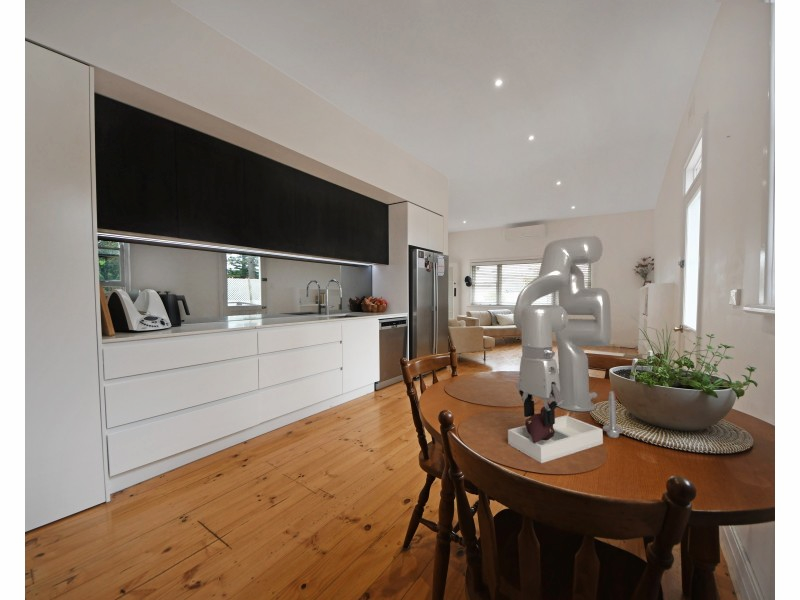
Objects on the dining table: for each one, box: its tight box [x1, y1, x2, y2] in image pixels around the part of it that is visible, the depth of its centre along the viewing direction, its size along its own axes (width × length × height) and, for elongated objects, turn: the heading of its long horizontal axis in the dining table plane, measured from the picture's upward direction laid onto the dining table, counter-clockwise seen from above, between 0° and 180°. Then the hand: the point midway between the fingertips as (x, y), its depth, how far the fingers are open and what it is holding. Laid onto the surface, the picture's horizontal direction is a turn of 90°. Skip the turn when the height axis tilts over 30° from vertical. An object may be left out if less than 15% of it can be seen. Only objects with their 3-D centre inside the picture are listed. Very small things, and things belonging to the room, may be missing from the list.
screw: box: [602, 390, 624, 439], centre depth 92 cm, size 13×5×5 cm
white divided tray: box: [507, 415, 604, 464], centre depth 89 cm, size 22×12×4 cm, turn 113°
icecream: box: [524, 406, 555, 443], centre depth 86 cm, size 7×7×15 cm
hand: (539, 419), depth 86 cm, fingers closed on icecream, 6 cm apart
